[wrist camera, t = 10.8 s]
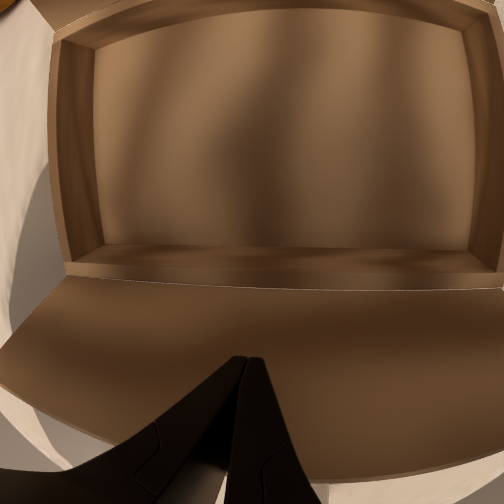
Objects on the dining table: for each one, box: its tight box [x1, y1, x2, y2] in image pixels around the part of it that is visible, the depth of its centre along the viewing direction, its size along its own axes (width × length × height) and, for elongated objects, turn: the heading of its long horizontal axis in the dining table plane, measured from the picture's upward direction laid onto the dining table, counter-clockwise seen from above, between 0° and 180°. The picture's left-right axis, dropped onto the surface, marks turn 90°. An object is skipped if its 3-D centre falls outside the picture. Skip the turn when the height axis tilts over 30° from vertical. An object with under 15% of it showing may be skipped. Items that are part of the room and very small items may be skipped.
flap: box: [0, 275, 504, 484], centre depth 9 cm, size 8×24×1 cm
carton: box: [47, 0, 504, 290], centre depth 12 cm, size 24×15×4 cm, turn 93°
